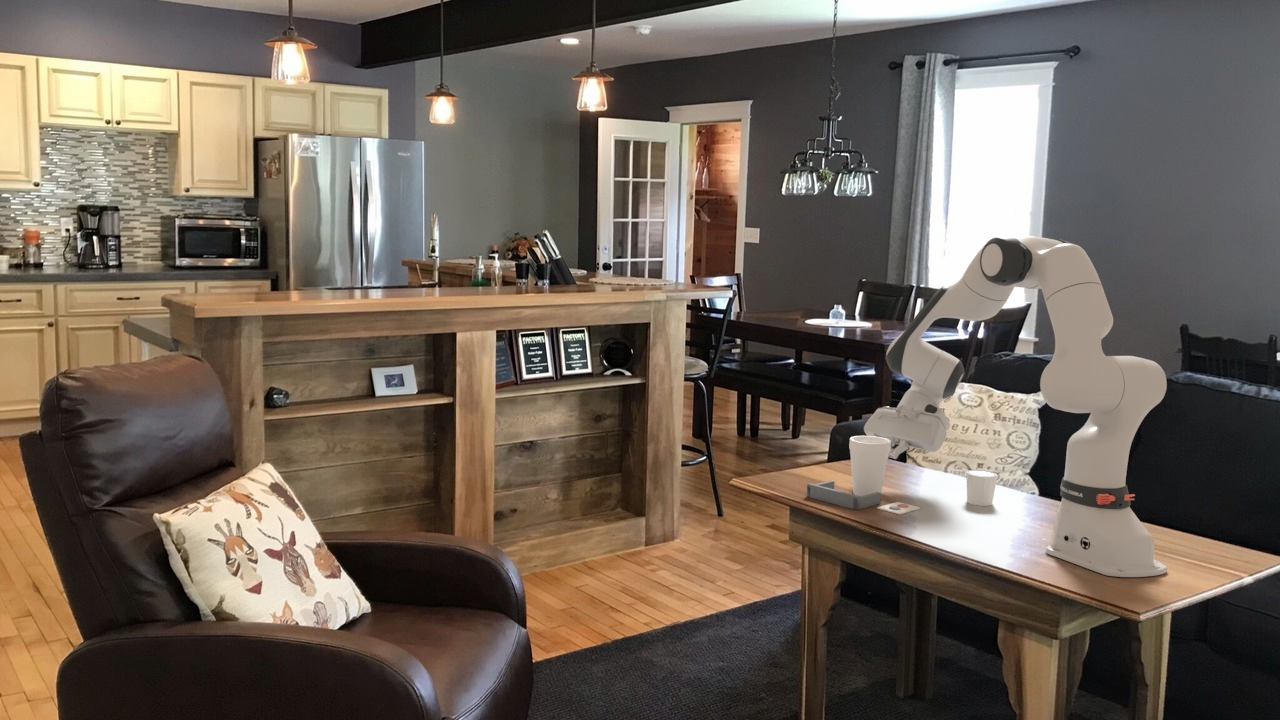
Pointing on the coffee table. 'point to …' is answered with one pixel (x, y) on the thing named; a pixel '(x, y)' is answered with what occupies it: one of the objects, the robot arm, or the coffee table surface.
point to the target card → (898, 508)
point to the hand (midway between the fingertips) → (889, 456)
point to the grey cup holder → (841, 496)
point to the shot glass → (980, 487)
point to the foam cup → (868, 463)
